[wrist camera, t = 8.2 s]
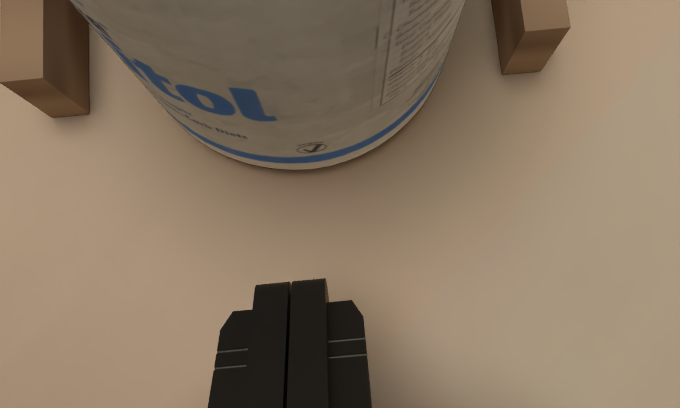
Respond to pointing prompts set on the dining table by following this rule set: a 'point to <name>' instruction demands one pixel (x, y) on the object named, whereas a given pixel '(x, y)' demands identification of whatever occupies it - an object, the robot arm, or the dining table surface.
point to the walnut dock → (73, 54)
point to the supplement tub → (283, 69)
